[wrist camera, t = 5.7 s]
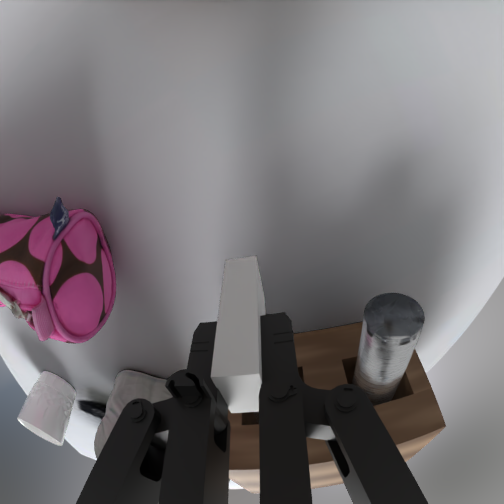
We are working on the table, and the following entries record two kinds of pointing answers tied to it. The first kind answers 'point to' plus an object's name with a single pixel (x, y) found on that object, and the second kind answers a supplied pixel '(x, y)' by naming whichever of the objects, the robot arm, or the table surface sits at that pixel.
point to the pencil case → (57, 273)
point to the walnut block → (328, 377)
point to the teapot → (128, 400)
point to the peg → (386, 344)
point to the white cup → (48, 408)
